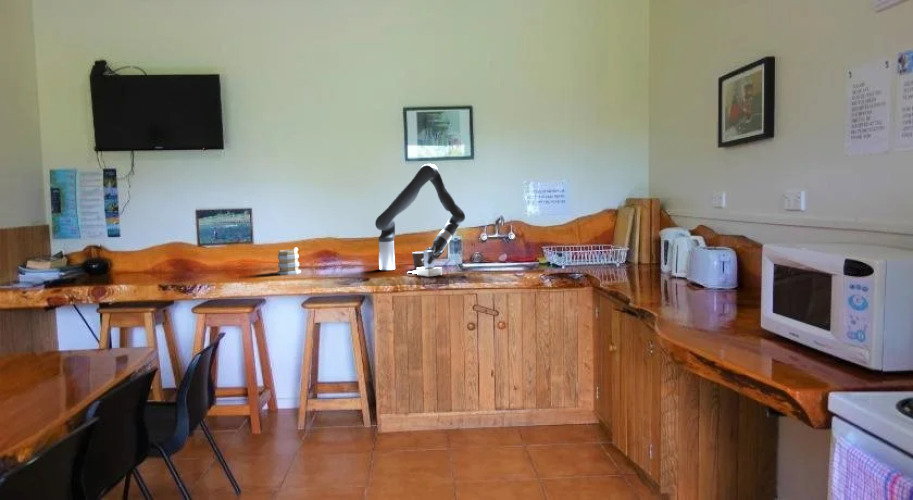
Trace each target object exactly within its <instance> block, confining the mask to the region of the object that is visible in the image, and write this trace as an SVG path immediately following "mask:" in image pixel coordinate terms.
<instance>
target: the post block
mask: <svg viewBox="0 0 913 500" xmlns="http://www.w3.org/2000/svg"><path fill="white" fill-rule="evenodd" d="M408 273H412V274H411V275H414V274H417V276H422V277H428V278H429V277H434V276H435V277H436V276H442V275H443V267H441V266H440V267H439V266H438V267H434V268H429V269H427V268H424V267H419V268H417V269H416V270H412V271H407V274H408Z"/></svg>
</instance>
